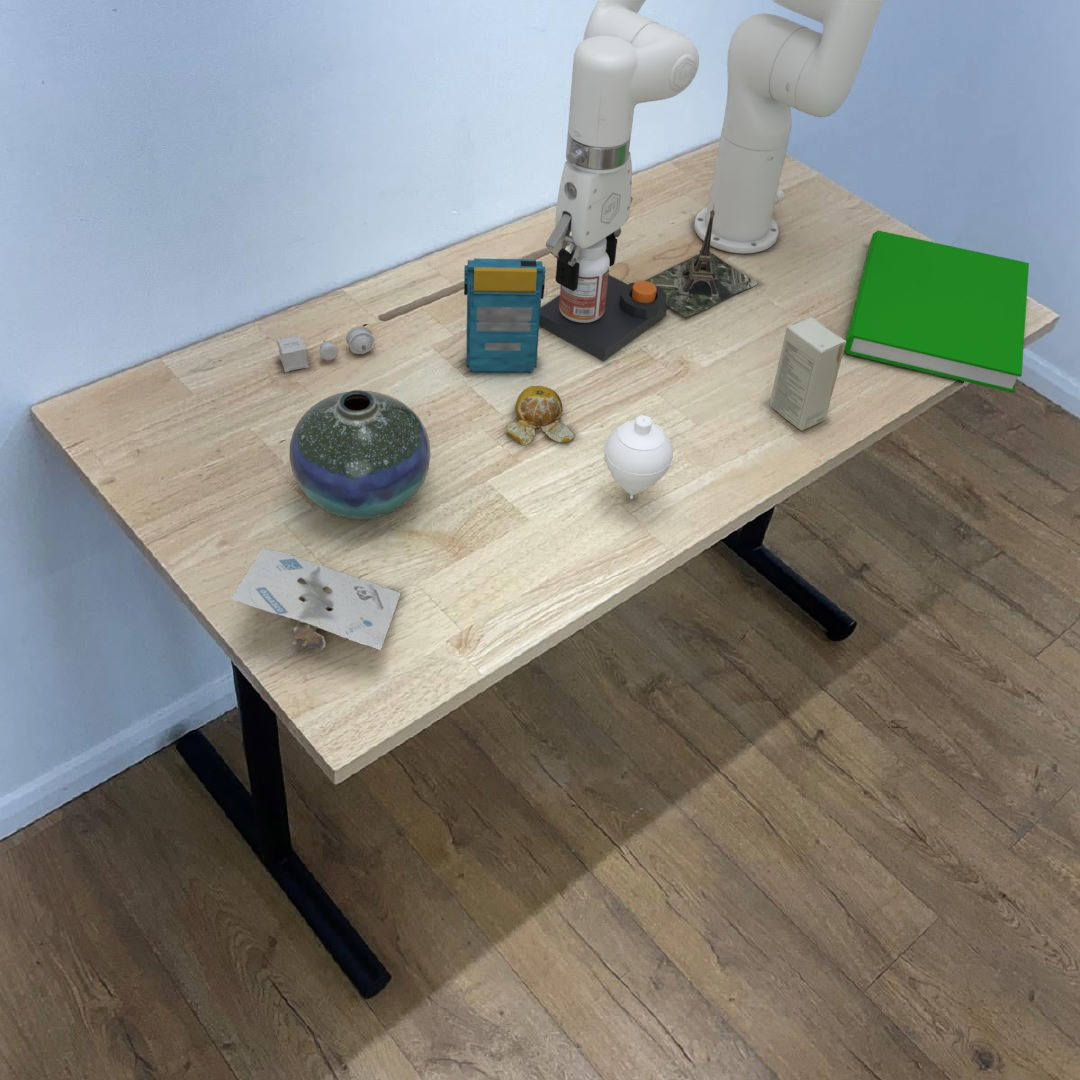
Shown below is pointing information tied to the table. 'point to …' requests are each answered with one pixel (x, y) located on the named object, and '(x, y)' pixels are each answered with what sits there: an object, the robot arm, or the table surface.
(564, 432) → the fruit
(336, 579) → the card
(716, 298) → the eiffel tower figurine
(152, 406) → the table surface
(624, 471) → the spinning top
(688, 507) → the table surface
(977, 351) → the book
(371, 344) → the toy set
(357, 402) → the vase
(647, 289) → the button
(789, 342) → the cosmetic box
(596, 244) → the pill bottle
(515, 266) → the teal case
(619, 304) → the dark grey button base
